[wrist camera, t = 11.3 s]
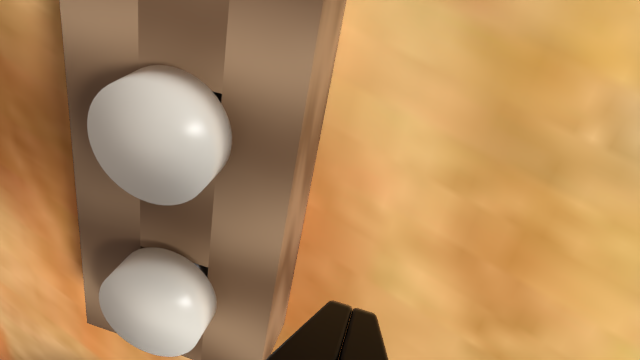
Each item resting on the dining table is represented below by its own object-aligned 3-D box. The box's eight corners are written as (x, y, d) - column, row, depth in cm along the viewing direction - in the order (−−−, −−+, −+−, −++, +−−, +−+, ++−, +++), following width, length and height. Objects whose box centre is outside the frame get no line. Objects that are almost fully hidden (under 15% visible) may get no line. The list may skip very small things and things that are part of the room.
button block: (284, 323, 28) (258, 381, 25) (131, 273, 29) (87, 323, 26) (396, -264, 15) (376, -311, 12) (119, -309, 16) (28, -363, 13)
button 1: (245, 286, 27) (197, 369, 22) (165, 260, 27) (101, 336, 23) (254, 215, 24) (203, 291, 20) (167, 189, 25) (95, 256, 20)
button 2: (263, 153, 23) (208, 220, 18) (168, 127, 23) (91, 184, 19) (276, 53, 20) (217, 99, 16) (170, 26, 21) (82, 63, 16)
